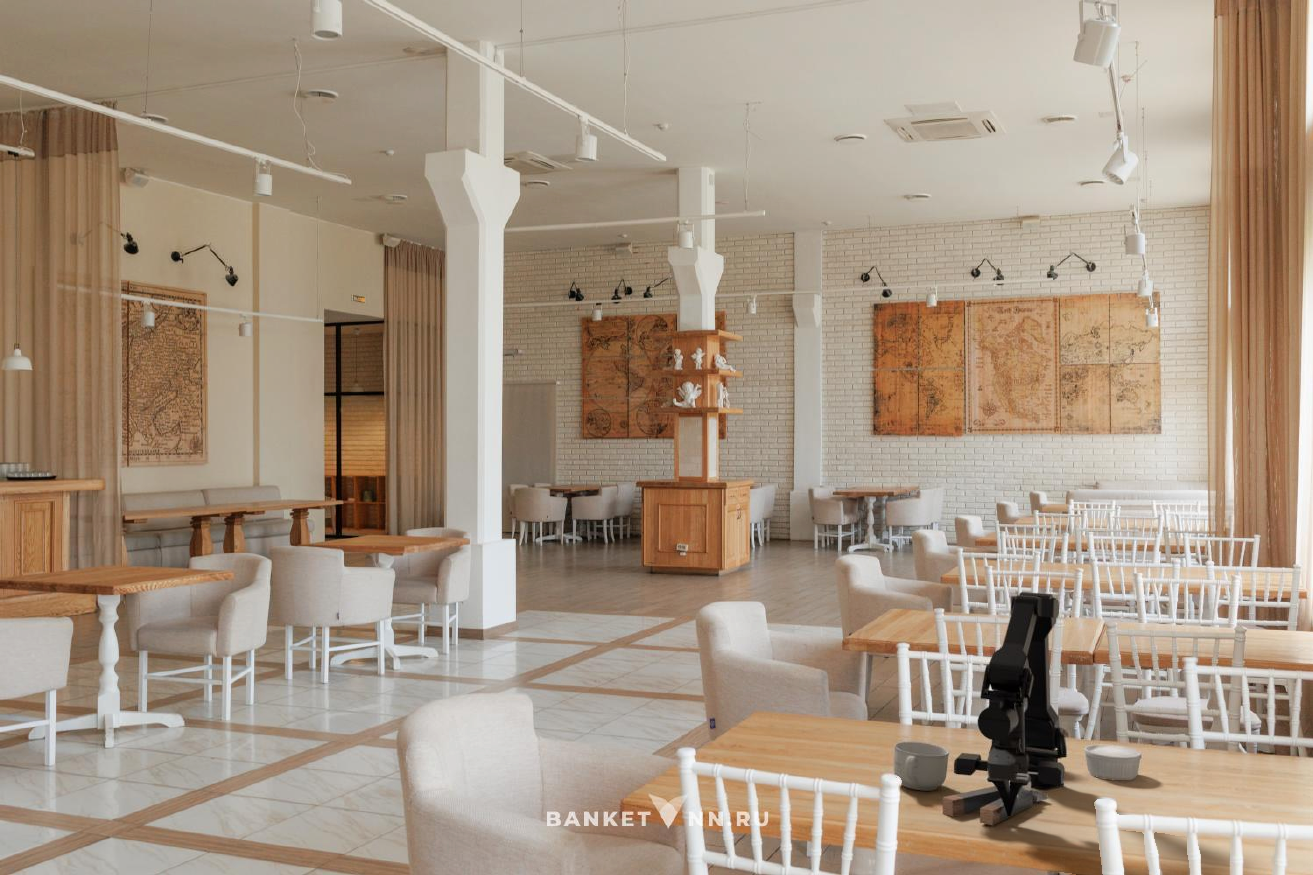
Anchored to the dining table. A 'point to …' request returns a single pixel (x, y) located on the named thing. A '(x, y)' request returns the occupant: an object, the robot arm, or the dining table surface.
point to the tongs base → (979, 800)
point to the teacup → (920, 765)
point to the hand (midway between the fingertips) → (1009, 816)
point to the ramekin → (1112, 761)
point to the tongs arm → (997, 811)
